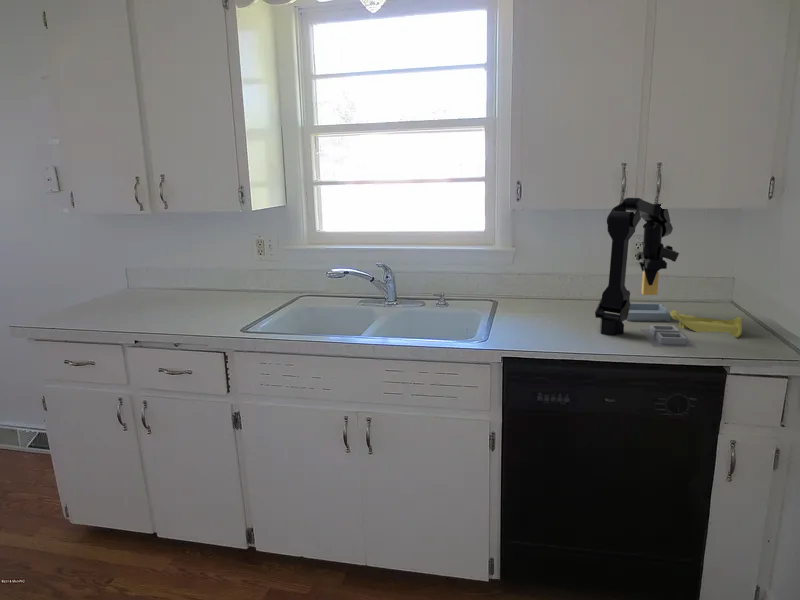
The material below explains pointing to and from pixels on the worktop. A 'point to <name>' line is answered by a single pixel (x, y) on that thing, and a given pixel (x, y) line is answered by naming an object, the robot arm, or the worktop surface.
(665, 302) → the worktop surface
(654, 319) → the parts tray
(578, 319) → the worktop surface
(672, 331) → the board
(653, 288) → the block
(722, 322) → the plastic component
